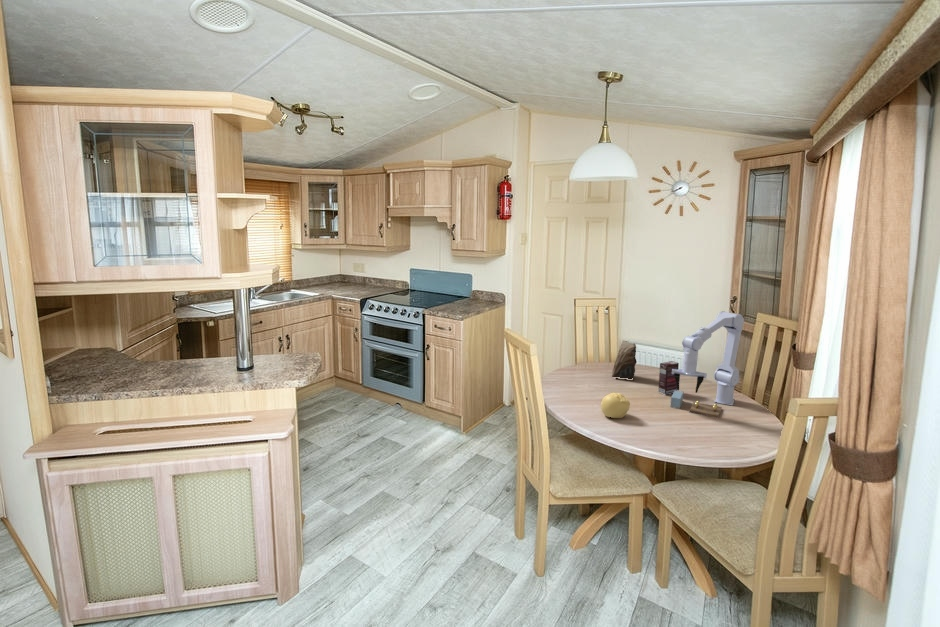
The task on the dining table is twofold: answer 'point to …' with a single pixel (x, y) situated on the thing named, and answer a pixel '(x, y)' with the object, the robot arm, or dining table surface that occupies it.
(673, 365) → the supplement box
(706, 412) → the peg stand
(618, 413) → the yellow round lump
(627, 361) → the brown rock
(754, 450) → the dining table surface
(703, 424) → the dining table surface
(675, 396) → the light blue rectangular block
